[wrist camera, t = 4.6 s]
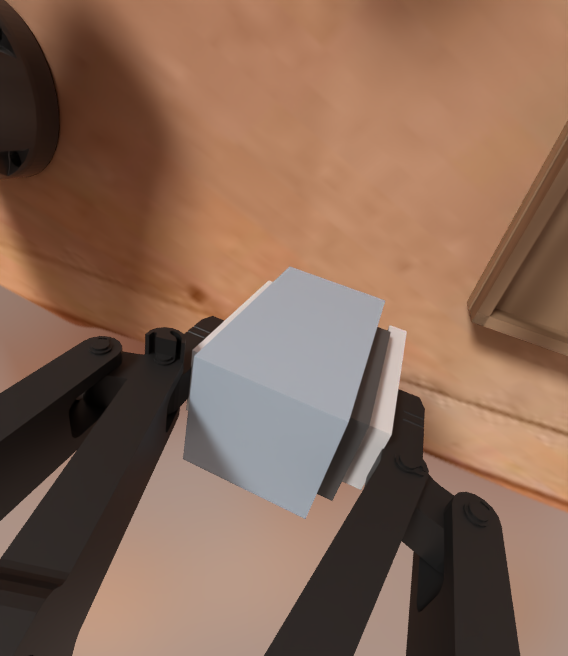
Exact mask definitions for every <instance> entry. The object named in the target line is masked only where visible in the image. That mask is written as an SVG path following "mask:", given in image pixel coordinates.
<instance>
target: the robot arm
mask: <svg viewBox="0 0 568 656" xmlns="http://www.w3.org/2000/svg"><path fill="white" fill-rule="evenodd" d="M58 132H59V112H58V103H57V97H56V92H55V88H54V84H53V80H52V77H51V74H50V71H49V68H48V65H47V63H46V60H45V58H44V56H43V53H42V51H41V49H40V47H39V45H38V43H37V41H36V40H35V38H34V36H33V34H32V33H31V31H30V30H29V28H28V27H27V25H26V24H25V22H24V21H23V20H22V18H21V17H20V16H19V15H18V13H17V12H16V11H15V10H14V9H13V8H12V7H11V6H10V5H9V4H8V3H7V2H6V1H5V0H0V179H11V178H20V177H29V176H33V175H35V174H37V173H39V172H40V171H42V170H43V169H44V168H45V167H46V166H47V165H48V163H49V162H50V160H51V158H52V156H53V154H54V151H55V148H56V145H57V140H58ZM272 283H273V282H271V281H268V282H267V283H265V284H264V285H263V286H262V287H261V288H260V289H259V290H258V291H257V292H256V293H255V294H253V295H252V296H251V297H250V298H249V299H248V300H247V301H246V302H245V303H244V304H242V305H241V306H240V307H239V308H238V309H237V310H236V311H235V312H234V313H233V314H232V315H230V316H229V317H228V318H227V319H226V320H225V321H224V320H221V319H219V318H216V317H214V316H211V317H208V318H205V319H202V320H201V321H199V322H198V323H197V324H196V325H194V327H192V328H191V329H190V330H188V332H186V333H185V334H183V333H181V332H180V331H178V330H176V329H173V328H166V327H163V328H156V329H153V330H150V331H149V332H148V333H146V334H145V355H142V354H134V353H128V352H123V351H122V345H121V344H120V342H119V341H118V340H116V339H115V338H111V337H105V336H99V337H93V338H89V339H87V340H85V341H83V342H81V343H80V344H78V345H77V346H75V347H73V348H72V349H70V350H69V351H67V352H65V353H64V354H62V355H61V356H59V357H58V358H56V359H54V360H53V361H51V362H50V363H48V364H46V365H45V366H43V367H42V368H40V369H38V370H37V371H35V372H33V373H32V374H30V375H29V376H27V377H26V378H24V379H22V380H21V381H19V382H17V383H16V384H14V385H13V386H11V387H10V388H8V389H6V390H5V391H3V392H2V393H0V521H1V520H2V519H3V518H4V517H5V516H6V515H7V514H8V513H9V512H10V511H12V510H13V509H14V508H15V507H16V506H17V505H18V504H19V503H20V502H21V501H22V500H23V499H24V498H26V497H27V496H28V495H29V494H30V493H31V492H32V491H33V490H34V489H35V488H36V487H37V486H38V485H40V484H41V483H42V482H43V481H44V480H45V479H46V478H47V477H48V476H49V475H50V474H52V473H53V472H54V471H55V470H56V469H57V468H58V467H59V466H60V465H61V464H62V463H63V462H65V461H66V460H67V459H68V458H69V457H70V456H71V455H72V454H73V453H74V452H75V451H76V450H77V451H76V452H75V454H74V455H73V457H72V458H71V460H70V461H69V462H68V464H67V465H66V467H65V468H64V469H63V471H62V472H61V474H60V475H59V477H58V478H57V479H56V481H55V483H54V484H53V485H52V487H51V488H50V489H49V491H48V492H47V494H46V495H45V496H44V498H43V499H42V501H41V502H40V503H39V505H38V506H37V508H36V509H35V510H34V512H33V513H32V515H31V516H30V518H29V519H28V520H27V522H26V523H25V525H24V526H23V528H22V529H21V530H20V532H19V533H18V535H17V536H16V537H15V539H14V540H13V542H12V543H11V545H10V546H9V547H8V549H7V550H6V552H5V553H4V554H3V556H2V557H1V559H0V656H72V654H73V650H74V646H75V642H76V639H77V636H78V634H79V631H80V629H81V627H82V624H83V622H84V620H85V618H86V616H87V614H88V611H89V609H90V607H91V605H92V603H93V601H94V599H95V596H96V594H97V592H98V590H99V588H100V585H101V583H102V581H103V579H104V577H105V575H106V573H107V570H108V568H109V566H110V564H111V562H112V559H113V557H114V555H115V553H116V551H117V549H118V546H119V544H120V542H121V540H122V538H123V536H124V534H125V531H126V529H127V527H128V525H129V523H130V521H131V518H132V516H133V514H134V511H135V510H136V508H137V505H138V503H139V501H140V499H141V497H142V495H143V492H144V490H145V488H146V486H147V484H148V482H149V479H150V477H151V475H152V473H153V471H154V469H155V466H156V464H157V462H158V460H159V458H160V456H161V454H162V451H163V449H164V447H165V445H166V443H167V441H168V438H169V436H170V434H171V432H172V429H173V428H174V425H175V423H176V421H177V419H178V416H179V411H180V406H181V405H182V404H183V403H184V402H185V401H186V400H187V407H186V410H188V409H189V399H190V390H191V381H192V372H193V362H194V356H195V355H196V354H197V353H198V352H199V351H200V350H201V349H202V348H203V347H204V346H205V345H206V344H208V343H209V342H210V341H211V340H212V339H213V338H214V337H215V336H216V335H217V334H218V333H219V332H220V331H221V330H223V329H224V328H225V327H226V326H227V325H228V324H229V323H230V322H231V321H232V320H233V319H234V318H235V317H236V316H237V315H239V314H240V313H241V312H242V311H243V310H244V309H245V308H246V307H247V306H248V305H249V304H250V303H251V302H252V301H253V300H255V299H256V298H257V297H258V296H259V295H260V294H261V293H262V292H263V291H264V290H265V289H266V288H267V287H268V286H269V285H271V284H272ZM387 331H390V332H391V333H390V338H389V342H388V346H387V351H386V355H385V360H384V364H383V368H382V373H381V377H380V382H379V386H378V390H377V395H376V399H375V404H374V408H373V412H372V417H371V421H370V426H369V428H368V430H367V432H366V434H365V436H364V438H363V440H362V442H361V444H360V446H359V448H358V450H357V452H356V454H355V456H354V458H353V460H352V462H351V464H350V466H349V468H348V470H347V472H346V474H345V476H344V478H343V480H342V482H345V483H347V484H349V485H351V486H354V487H356V488H358V489H360V490H361V489H362V487H363V485H364V484H365V487H364V490H363V491H362V493H361V495H360V496H359V498H358V500H357V501H356V503H355V505H354V506H353V508H352V510H351V511H350V513H349V515H348V516H347V518H346V520H345V521H344V523H343V525H342V526H341V528H340V530H339V531H338V533H337V535H336V536H335V538H334V540H333V541H332V543H331V545H330V547H329V548H328V550H327V551H326V553H325V555H324V556H323V558H322V560H321V561H320V563H319V565H318V567H317V568H316V570H315V572H314V573H313V575H312V576H311V578H310V580H309V582H308V583H307V585H306V586H305V588H304V590H303V592H302V593H301V595H300V596H299V598H298V600H297V602H296V603H295V605H294V607H293V608H292V610H291V612H290V613H289V615H288V617H287V618H286V620H285V622H284V623H283V625H282V627H281V628H280V630H279V632H278V633H277V635H276V637H275V638H274V640H273V642H272V643H271V645H270V647H269V648H268V650H267V652H266V653H265V655H264V656H354V653H355V651H356V648H357V646H358V644H359V641H360V639H361V636H362V634H363V632H364V629H365V627H366V624H367V622H368V620H369V617H370V615H371V612H372V610H373V608H374V605H375V603H376V601H377V598H378V596H379V593H380V591H381V588H382V586H383V583H384V581H385V579H386V577H387V574H388V572H389V569H390V567H391V565H392V562H393V559H394V557H395V555H396V553H397V550H398V548H399V545H400V543H401V541H402V542H403V543H405V544H406V545H407V546H408V547H409V548H411V549H412V550H413V551H414V554H413V567H412V581H411V594H410V608H409V622H408V635H407V650H406V656H520V651H519V644H518V637H517V630H516V623H515V617H514V610H513V602H512V596H511V589H510V581H509V575H508V568H507V561H506V554H505V547H504V541H503V533H502V526H501V523H500V520H499V517H498V515H497V514H496V513H495V511H494V510H493V508H492V507H491V506H490V505H489V504H488V503H487V502H486V501H485V500H483V499H482V498H480V497H478V496H477V495H475V494H472V493H468V492H459V493H457V494H456V495H455V496H454V495H452V494H451V493H449V492H448V491H447V490H445V489H444V488H443V487H441V486H440V485H439V484H438V483H437V482H435V481H434V480H433V479H432V478H431V476H430V475H429V474H428V472H429V471H428V468H427V465H426V463H425V461H424V460H423V437H424V429H423V428H424V413H425V408H424V406H423V404H422V402H421V400H420V398H419V397H417V396H414V395H412V394H409V393H407V392H404V391H402V390H399V389H398V387H399V381H400V374H401V367H402V360H403V353H404V346H405V339H406V333H407V331H404V330H402V329H399V328H396V327H394V326H391V325H390V326H389V328H388V330H387Z"/></svg>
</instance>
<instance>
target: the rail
mask: <svg viewBox="0 0 568 656" xmlns="http://www.w3.org/2000/svg"><path fill="white" fill-rule="evenodd" d="M467 306H468V310H470V316H471V321H472V322H473V323H475V324H478V325H481V326H484V327H487V328H489V329H492V330H495V331H498V332H501V333H503V334H506V335H509V336H512V337H515V338H518V339H520V340H523V341H526V342H529V343H532V344H534V345H537V346H540V347H543V348H546V349H549V350H551V351H554V352H557V353H560V354H563V355H565V356H568V121H567V123H566V125H565V127H564V128H563V130H562V132H561V134H560V136H559V137H558V139H557V141H556V143H555V145H554V146H553V148H552V150H551V152H550V154H549V155H548V157H547V159H546V161H545V163H544V164H543V166H542V168H541V170H540V172H539V173H538V175H537V177H536V179H535V181H534V182H533V184H532V186H531V188H530V190H529V191H528V193H527V195H526V197H525V199H524V200H523V202H522V204H521V206H520V208H519V209H518V211H517V213H516V215H515V217H514V218H513V220H512V222H511V224H510V226H509V227H508V229H507V231H506V233H505V235H504V236H503V238H502V240H501V242H500V244H499V245H498V247H497V249H496V251H495V253H494V254H493V256H492V258H491V260H490V262H489V263H488V265H487V267H486V269H485V271H484V272H483V274H482V276H481V278H480V280H479V281H478V283H477V285H476V287H475V289H474V290H473V292H472V294H471V296H470V298H469V299H468V301H467Z"/></svg>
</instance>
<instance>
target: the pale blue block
mask: <svg viewBox="0 0 568 656" xmlns="http://www.w3.org/2000/svg"><path fill="white" fill-rule="evenodd" d="M384 303H385V300H382V299H379V298H377V297H374V296H371V295H368V294H365V293H363V292H360V291H357V290H354V289H351V288H348V287H346V286H343V285H340V284H337V283H334V282H332V281H329V280H326V279H323V278H320V277H318V276H315V275H312V274H309V273H306V272H304V271H301V270H298V269H295V268H292V267H289V268H288V269H287V270H285V271H284V272H283V273H282V274H281V275H280V276H279V277H278V278H277V279H276V280H275V281H274V282H273V283H272V284H271V285H269V286H268V287H267V288H266V289H265V290H264V291H263V292H262V293H261V294H260V295H259V296H258V297H257V298H256V299H255V300H253V301H252V302H251V303H250V304H249V305H248V306H247V307H246V308H245V309H244V310H243V311H242V312H241V313H240V314H239V315H237V316H236V317H235V318H234V319H233V320H232V321H231V322H230V323H229V324H228V325H227V326H226V327H225V328H224V329H223V330H221V331H220V332H219V333H218V334H217V335H216V336H215V337H214V338H213V339H212V340H211V341H210V342H209V343H208V344H206V345H205V346H204V347H203V348H202V349H201V350H200V351H199V352H198V353H197V354H196V355H195V356H194V362H193V372H192V381H191V390H190V399H189V409H188V418H187V427H186V437H185V446H184V455H183V459H184V460H186V461H188V462H190V463H192V464H194V465H196V466H198V467H200V468H202V469H204V470H207V471H208V472H210V473H213V474H215V475H217V476H219V477H221V478H223V479H225V480H227V481H229V482H231V483H233V484H235V485H237V486H239V487H241V488H243V489H245V490H247V491H249V492H252V493H253V494H255V495H258V496H259V497H261V498H264V499H266V500H268V501H270V502H272V503H274V504H276V505H278V506H280V507H282V508H284V509H286V510H288V511H290V512H292V513H294V514H296V515H298V516H300V517H302V518H304V519H306V516H307V514H308V512H309V510H310V507H311V505H312V503H313V501H314V499H315V496H316V494H319V495H321V496H323V497H325V498H327V499H329V500H331V501H332V500H333V498H334V496H335V494H336V492H337V490H338V488H339V486H340V484H341V482H342V480H343V478H344V476H345V474H346V472H347V470H348V468H349V466H350V464H351V462H352V460H353V458H354V456H355V454H356V452H357V450H358V448H359V446H360V444H361V442H362V440H363V438H364V436H365V434H366V432H367V430H368V428H369V426H370V421H371V417H372V412H373V408H374V404H375V399H376V395H377V390H378V386H379V382H380V377H381V373H382V368H383V364H384V360H385V355H386V351H387V346H388V342H389V338H390V333H391V332H390V331H387V330H384V329H381V328H379V327H377V326H378V323H379V320H380V316H381V313H382V310H383V306H384Z"/></svg>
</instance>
